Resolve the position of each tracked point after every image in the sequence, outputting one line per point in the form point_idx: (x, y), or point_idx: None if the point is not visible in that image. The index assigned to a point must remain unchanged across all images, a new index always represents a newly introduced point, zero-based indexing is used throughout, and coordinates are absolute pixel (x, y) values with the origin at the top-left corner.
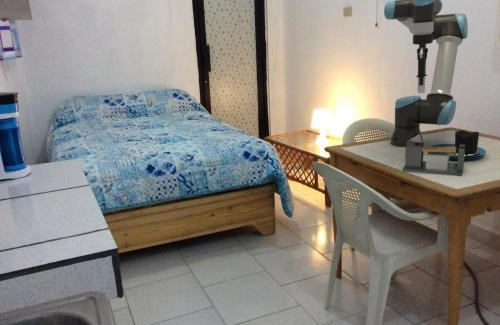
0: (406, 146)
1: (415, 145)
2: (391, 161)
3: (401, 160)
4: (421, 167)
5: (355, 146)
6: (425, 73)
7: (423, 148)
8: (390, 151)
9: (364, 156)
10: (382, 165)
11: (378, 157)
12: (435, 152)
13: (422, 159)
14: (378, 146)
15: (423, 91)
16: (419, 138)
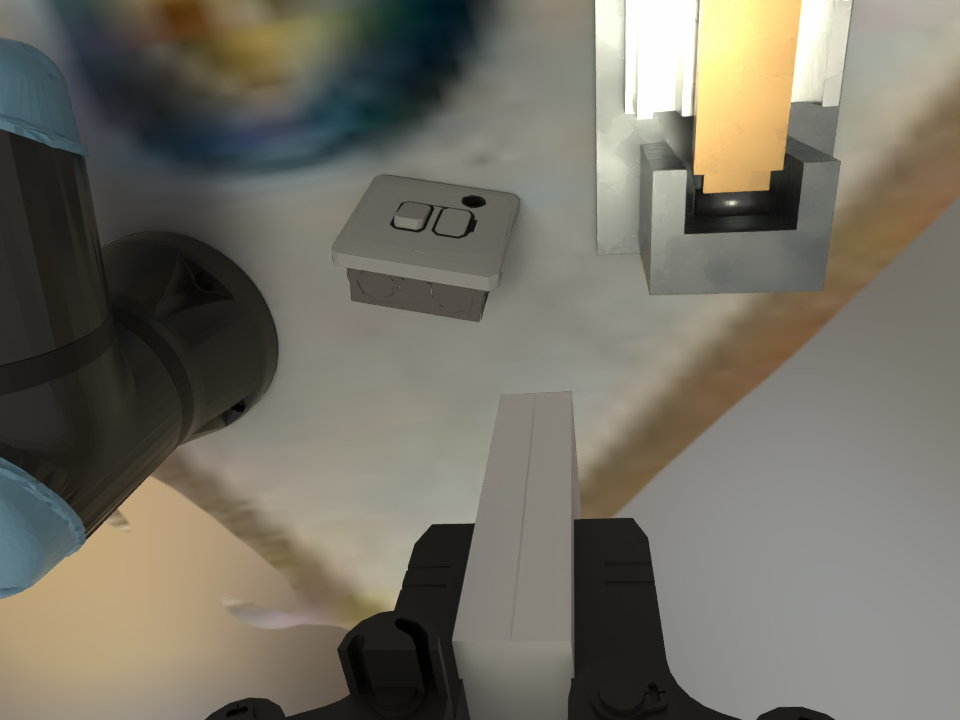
0: (823, 285)
1: (691, 228)
2: (606, 346)
3: (568, 293)
4: None
5: (361, 575)
6: (252, 705)
7: (756, 150)
8: (393, 389)
9: None
10: (703, 380)
11: None
12: None
13: (670, 148)
14: (314, 468)
15: (573, 423)
16: (378, 242)
